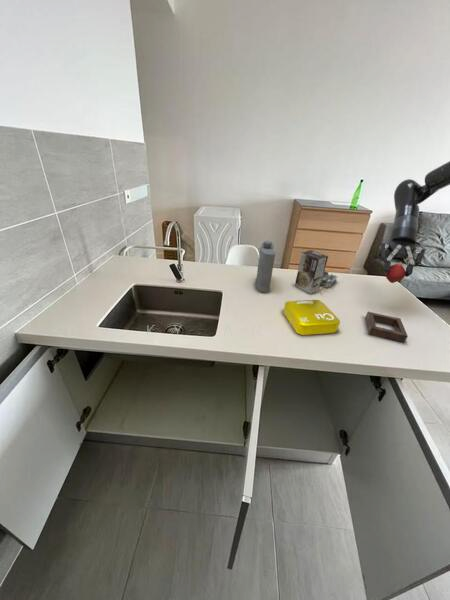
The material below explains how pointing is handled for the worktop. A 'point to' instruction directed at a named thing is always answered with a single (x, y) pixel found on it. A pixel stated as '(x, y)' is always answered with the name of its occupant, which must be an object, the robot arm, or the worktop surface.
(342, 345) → the worktop surface
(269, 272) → the flask
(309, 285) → the coffee box
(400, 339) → the tray
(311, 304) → the element tile
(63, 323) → the worktop surface
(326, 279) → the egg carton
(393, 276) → the onion
